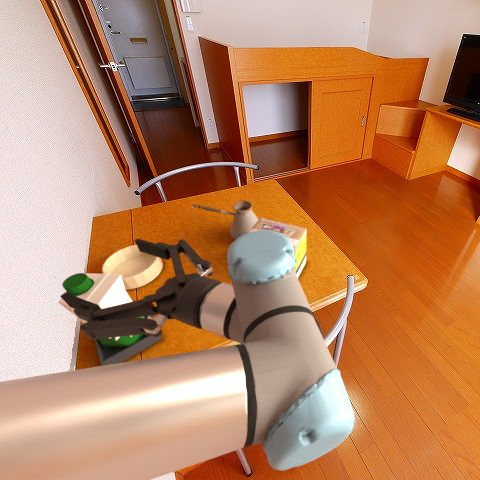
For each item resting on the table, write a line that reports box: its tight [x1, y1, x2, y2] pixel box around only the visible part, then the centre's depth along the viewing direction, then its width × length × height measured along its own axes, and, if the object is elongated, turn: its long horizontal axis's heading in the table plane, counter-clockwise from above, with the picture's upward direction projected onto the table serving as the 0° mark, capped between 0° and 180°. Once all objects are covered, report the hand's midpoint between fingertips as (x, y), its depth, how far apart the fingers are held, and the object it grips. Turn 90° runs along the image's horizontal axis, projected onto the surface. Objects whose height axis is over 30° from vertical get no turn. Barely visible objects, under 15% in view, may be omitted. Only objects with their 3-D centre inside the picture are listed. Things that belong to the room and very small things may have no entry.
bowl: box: [101, 244, 164, 291], centre depth 82 cm, size 14×14×4 cm
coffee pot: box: [191, 199, 260, 241], centre depth 92 cm, size 21×12×15 cm, turn 102°
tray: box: [93, 315, 162, 366], centre depth 66 cm, size 12×12×3 cm
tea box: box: [249, 216, 308, 279], centre depth 81 cm, size 15×10×15 cm, turn 72°
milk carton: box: [58, 272, 145, 349], centre depth 60 cm, size 9×9×20 cm
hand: (106, 269), depth 47 cm, fingers open, 13 cm apart
